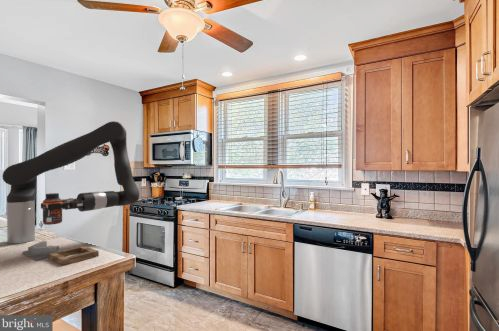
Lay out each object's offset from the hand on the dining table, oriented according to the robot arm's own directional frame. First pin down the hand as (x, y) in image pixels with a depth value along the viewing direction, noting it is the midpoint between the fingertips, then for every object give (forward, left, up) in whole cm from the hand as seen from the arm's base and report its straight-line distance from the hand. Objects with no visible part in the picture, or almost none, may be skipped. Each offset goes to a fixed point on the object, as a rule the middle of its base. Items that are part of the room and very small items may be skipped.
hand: (44, 206), depth 101 cm
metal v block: (0, 0, -17) cm, 17 cm away
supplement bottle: (0, +3, -7) cm, 7 cm away
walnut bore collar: (+14, +4, -17) cm, 23 cm away
